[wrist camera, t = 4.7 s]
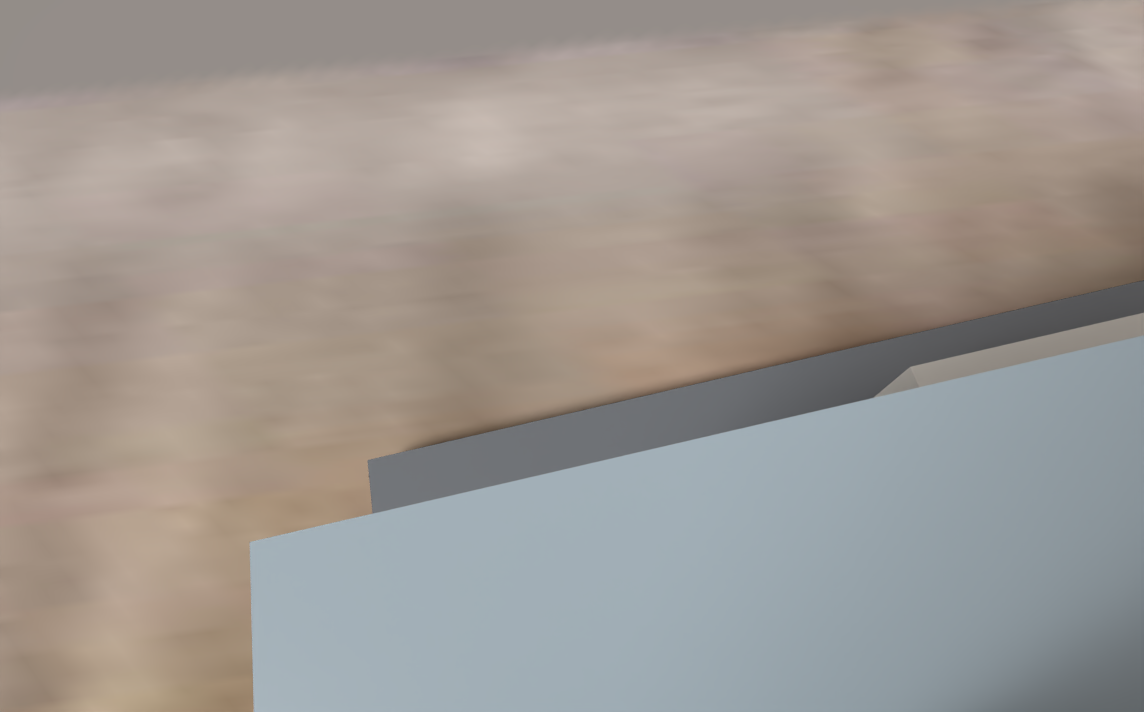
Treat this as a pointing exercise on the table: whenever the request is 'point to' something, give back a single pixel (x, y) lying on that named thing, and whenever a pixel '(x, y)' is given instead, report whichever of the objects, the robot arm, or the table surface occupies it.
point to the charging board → (717, 404)
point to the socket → (1017, 353)
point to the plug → (754, 568)
